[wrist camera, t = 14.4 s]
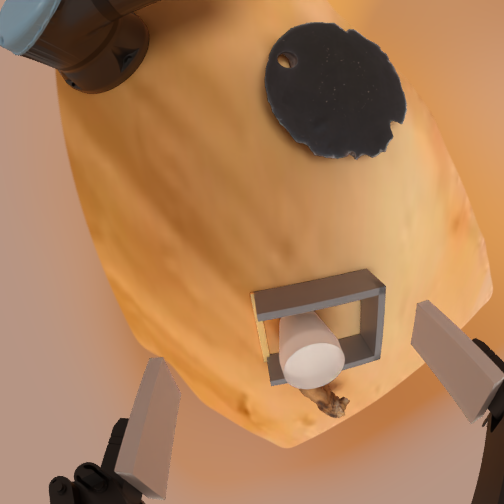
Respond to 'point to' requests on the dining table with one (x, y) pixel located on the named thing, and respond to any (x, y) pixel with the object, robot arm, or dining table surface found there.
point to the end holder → (320, 297)
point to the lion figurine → (327, 401)
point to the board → (334, 91)
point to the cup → (308, 351)
